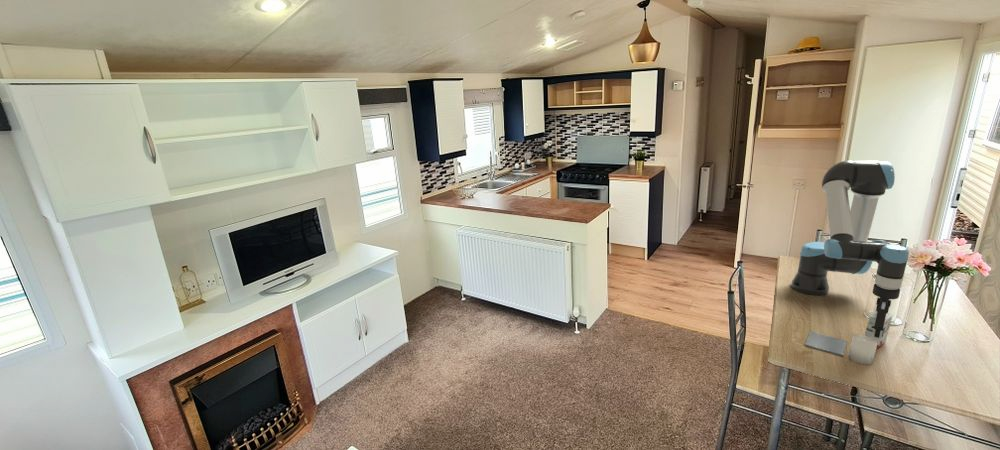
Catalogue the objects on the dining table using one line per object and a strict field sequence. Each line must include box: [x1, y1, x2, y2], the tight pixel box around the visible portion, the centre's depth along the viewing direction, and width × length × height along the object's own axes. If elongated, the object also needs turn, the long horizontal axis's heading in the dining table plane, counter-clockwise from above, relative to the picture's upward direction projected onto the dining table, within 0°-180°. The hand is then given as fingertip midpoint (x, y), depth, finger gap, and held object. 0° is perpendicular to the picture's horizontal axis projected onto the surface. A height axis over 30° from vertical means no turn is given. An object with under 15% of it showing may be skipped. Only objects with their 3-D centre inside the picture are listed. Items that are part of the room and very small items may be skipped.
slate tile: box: [804, 331, 848, 357], centre depth 171 cm, size 12×12×1 cm
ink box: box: [864, 310, 893, 350], centre depth 169 cm, size 8×5×12 cm, turn 123°
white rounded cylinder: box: [848, 334, 877, 366], centre depth 160 cm, size 7×7×8 cm
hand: (876, 336), depth 170 cm, fingers open, 13 cm apart
